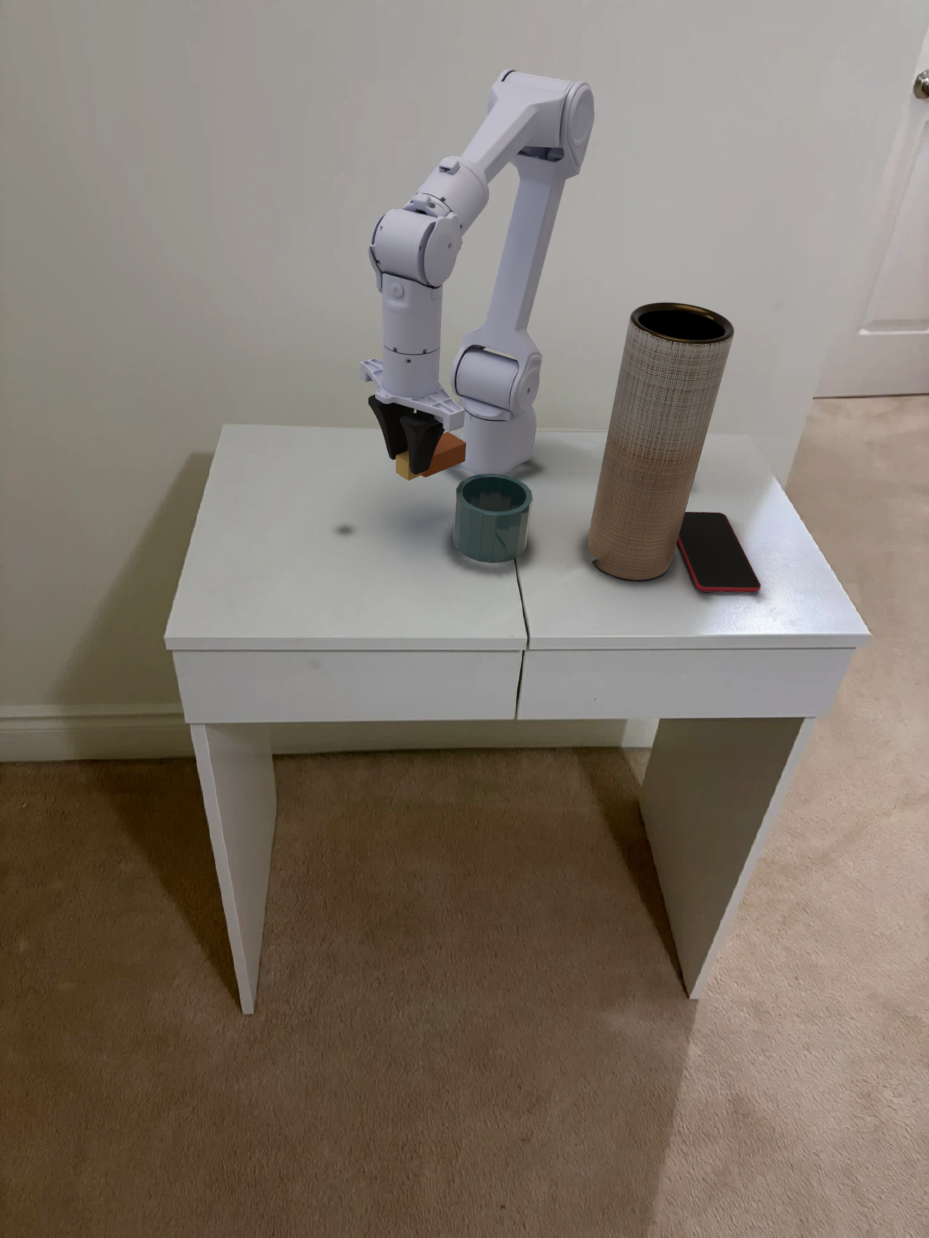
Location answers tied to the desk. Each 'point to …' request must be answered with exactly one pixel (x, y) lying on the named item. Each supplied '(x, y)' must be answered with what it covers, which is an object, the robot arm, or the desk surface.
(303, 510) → the desk surface
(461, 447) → the tan orange collared block
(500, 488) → the cup
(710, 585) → the smartphone
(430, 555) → the desk surface
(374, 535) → the desk surface
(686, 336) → the vase
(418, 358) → the robot arm
